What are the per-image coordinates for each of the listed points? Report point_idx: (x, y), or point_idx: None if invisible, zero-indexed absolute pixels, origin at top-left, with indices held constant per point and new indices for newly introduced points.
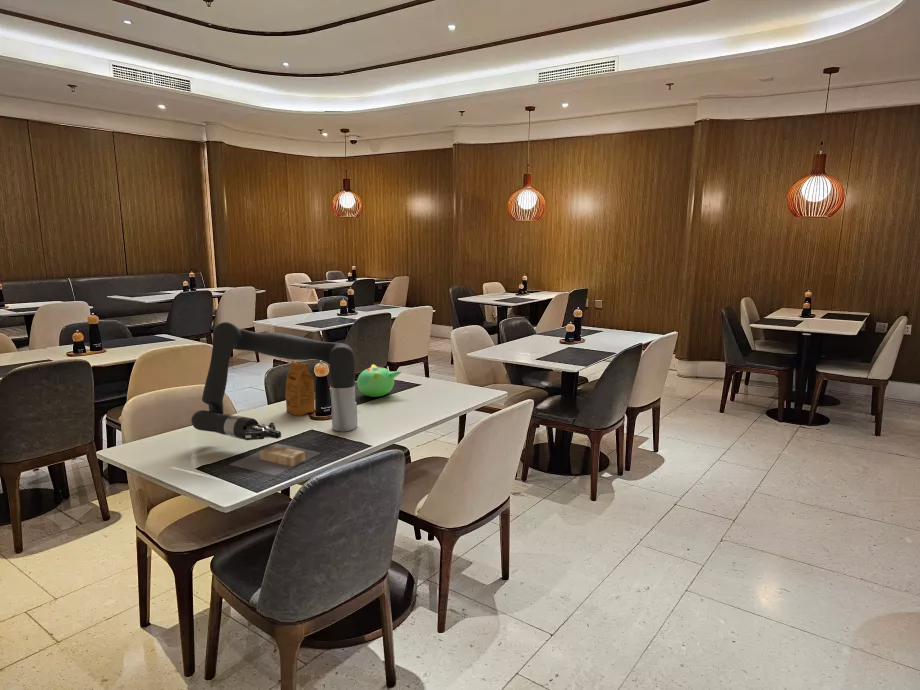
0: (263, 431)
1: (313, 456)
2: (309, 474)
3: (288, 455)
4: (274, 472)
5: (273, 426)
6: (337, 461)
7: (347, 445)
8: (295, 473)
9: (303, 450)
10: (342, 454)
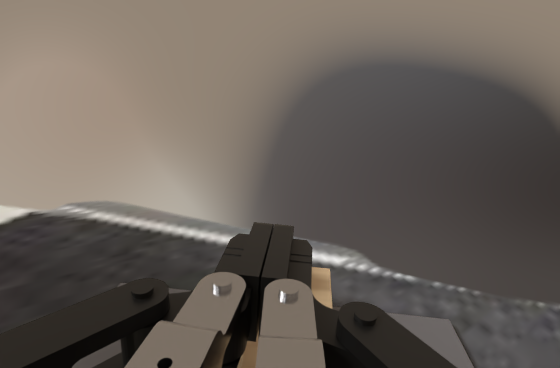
0: (347, 308)
1: (178, 289)
2: (340, 253)
3: (313, 290)
4: (431, 339)
5: (104, 307)
6: (202, 233)
7: (8, 252)
8: (362, 285)
9: (75, 363)
10: (128, 239)
